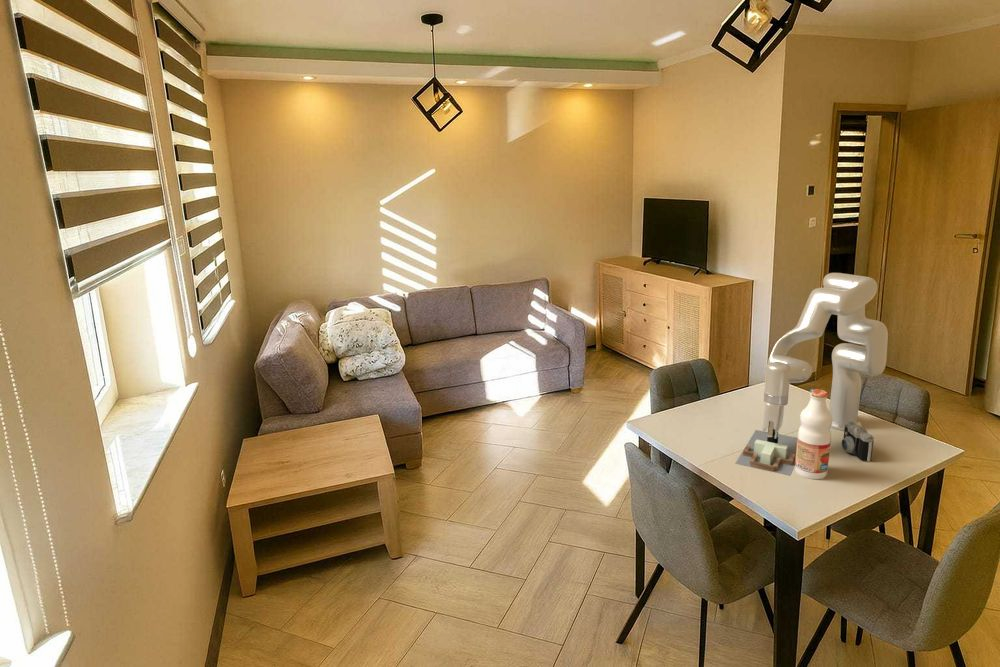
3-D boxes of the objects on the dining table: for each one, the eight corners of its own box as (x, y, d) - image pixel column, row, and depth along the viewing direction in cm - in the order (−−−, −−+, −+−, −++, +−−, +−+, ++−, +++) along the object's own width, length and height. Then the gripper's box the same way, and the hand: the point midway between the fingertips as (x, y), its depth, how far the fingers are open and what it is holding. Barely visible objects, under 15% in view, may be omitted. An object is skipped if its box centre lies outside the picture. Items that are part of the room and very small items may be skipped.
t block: (755, 449, 212) (756, 439, 211) (786, 456, 207) (787, 445, 206) (749, 461, 204) (749, 450, 203) (781, 468, 199) (782, 457, 198)
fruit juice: (793, 464, 202) (800, 385, 194) (825, 468, 198) (833, 387, 191) (795, 477, 193) (803, 395, 186) (828, 482, 190) (837, 398, 182)
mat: (755, 430, 228) (755, 429, 228) (805, 439, 219) (805, 439, 219) (735, 464, 204) (735, 463, 203) (790, 476, 194) (790, 475, 194)
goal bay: (747, 448, 214) (747, 444, 213) (794, 458, 205) (795, 454, 205) (737, 463, 203) (738, 459, 203) (787, 474, 195) (788, 470, 194)
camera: (832, 443, 215) (834, 417, 213) (851, 442, 215) (855, 416, 212) (852, 462, 201) (856, 434, 199) (873, 462, 201) (877, 434, 198)
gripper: (768, 389, 214) (765, 437, 219) (759, 403, 202) (755, 453, 207) (791, 392, 210) (787, 441, 215) (783, 407, 198) (779, 458, 203)
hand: (772, 447), depth 211 cm, fingers closed
